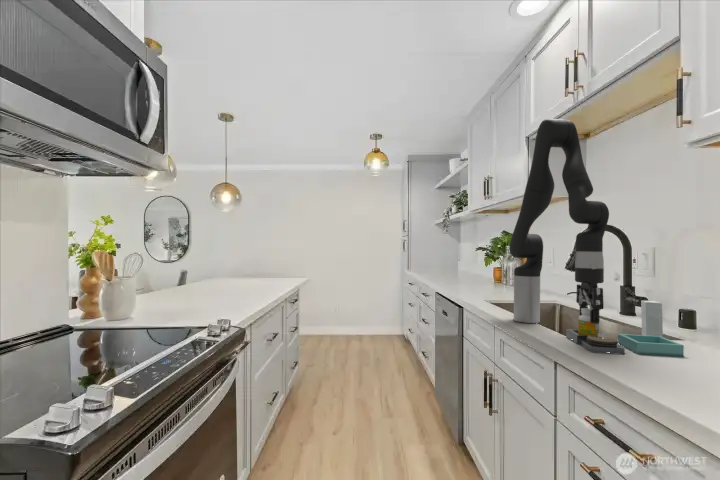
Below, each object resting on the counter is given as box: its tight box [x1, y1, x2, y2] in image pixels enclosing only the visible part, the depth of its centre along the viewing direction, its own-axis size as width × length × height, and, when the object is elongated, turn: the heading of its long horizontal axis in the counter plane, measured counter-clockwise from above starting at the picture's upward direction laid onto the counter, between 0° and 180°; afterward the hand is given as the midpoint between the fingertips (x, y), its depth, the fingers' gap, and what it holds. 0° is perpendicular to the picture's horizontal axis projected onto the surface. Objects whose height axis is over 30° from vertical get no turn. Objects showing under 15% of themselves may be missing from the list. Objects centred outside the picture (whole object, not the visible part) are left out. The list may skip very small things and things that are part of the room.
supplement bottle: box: [577, 307, 600, 335], centre depth 120 cm, size 5×5×10 cm
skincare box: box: [640, 300, 664, 337], centre depth 122 cm, size 6×4×12 cm
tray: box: [617, 333, 685, 358], centre depth 110 cm, size 11×11×3 cm
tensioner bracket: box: [565, 328, 626, 355], centre depth 115 cm, size 18×9×4 cm, turn 170°
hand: (589, 320), depth 119 cm, fingers open, 8 cm apart
